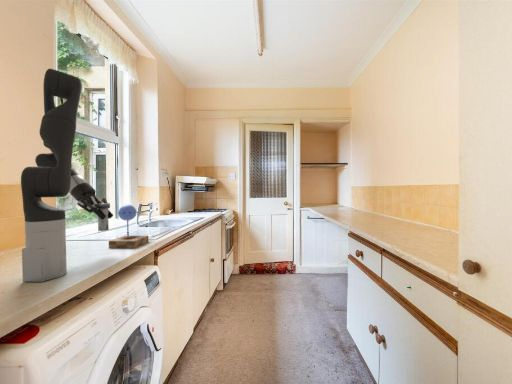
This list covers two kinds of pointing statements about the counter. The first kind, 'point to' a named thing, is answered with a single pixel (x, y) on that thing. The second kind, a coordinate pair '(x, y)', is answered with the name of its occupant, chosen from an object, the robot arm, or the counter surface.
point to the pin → (103, 223)
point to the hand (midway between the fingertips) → (107, 217)
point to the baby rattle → (127, 213)
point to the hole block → (128, 242)
